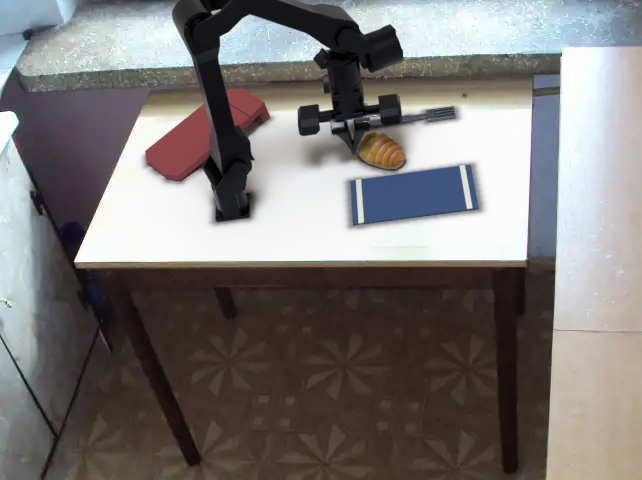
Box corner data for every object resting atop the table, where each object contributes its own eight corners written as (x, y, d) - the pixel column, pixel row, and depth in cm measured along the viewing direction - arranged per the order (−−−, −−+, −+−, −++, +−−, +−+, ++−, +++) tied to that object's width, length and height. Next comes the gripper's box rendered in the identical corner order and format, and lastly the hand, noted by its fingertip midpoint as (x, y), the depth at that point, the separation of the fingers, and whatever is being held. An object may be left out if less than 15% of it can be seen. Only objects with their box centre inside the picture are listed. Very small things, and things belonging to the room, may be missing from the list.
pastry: (415, 158, 176) (413, 141, 173) (390, 177, 174) (387, 161, 171) (379, 140, 182) (376, 124, 179) (354, 159, 179) (351, 142, 176)
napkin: (478, 209, 165) (478, 207, 164) (353, 225, 168) (352, 223, 167) (470, 165, 172) (470, 164, 172) (350, 182, 175) (350, 180, 175)
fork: (455, 118, 182) (455, 115, 182) (355, 132, 184) (355, 129, 184) (453, 108, 184) (453, 105, 184) (354, 122, 186) (354, 120, 186)
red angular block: (182, 197, 186) (276, 120, 191) (172, 179, 182) (268, 101, 187) (149, 172, 193) (241, 98, 198) (139, 154, 189) (233, 79, 194)
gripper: (395, 47, 170) (400, 120, 182) (292, 61, 172) (304, 133, 184) (399, 83, 163) (405, 156, 175) (292, 97, 165) (305, 169, 177)
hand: (354, 152), depth 178 cm, fingers closed
